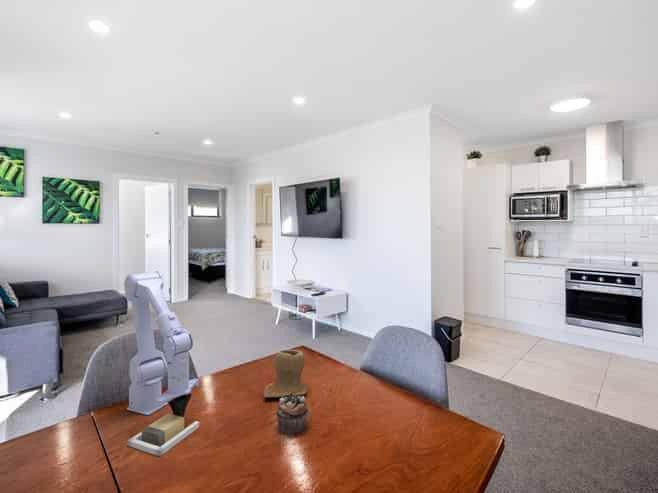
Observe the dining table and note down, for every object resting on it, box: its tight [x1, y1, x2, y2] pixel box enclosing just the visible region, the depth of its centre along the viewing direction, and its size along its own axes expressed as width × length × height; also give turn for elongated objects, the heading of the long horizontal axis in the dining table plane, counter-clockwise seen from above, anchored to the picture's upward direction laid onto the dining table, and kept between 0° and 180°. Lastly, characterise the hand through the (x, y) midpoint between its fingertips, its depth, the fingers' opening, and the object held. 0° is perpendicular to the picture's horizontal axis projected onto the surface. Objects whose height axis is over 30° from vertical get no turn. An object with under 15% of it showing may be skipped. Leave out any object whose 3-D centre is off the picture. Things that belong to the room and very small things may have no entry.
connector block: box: [141, 413, 185, 447], centre depth 96 cm, size 6×9×4 cm
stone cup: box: [263, 349, 308, 399], centre depth 123 cm, size 15×12×15 cm
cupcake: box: [275, 392, 309, 436], centre depth 102 cm, size 10×10×10 cm
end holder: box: [127, 420, 200, 457], centre depth 97 cm, size 11×14×2 cm
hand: (179, 419), depth 102 cm, fingers closed
